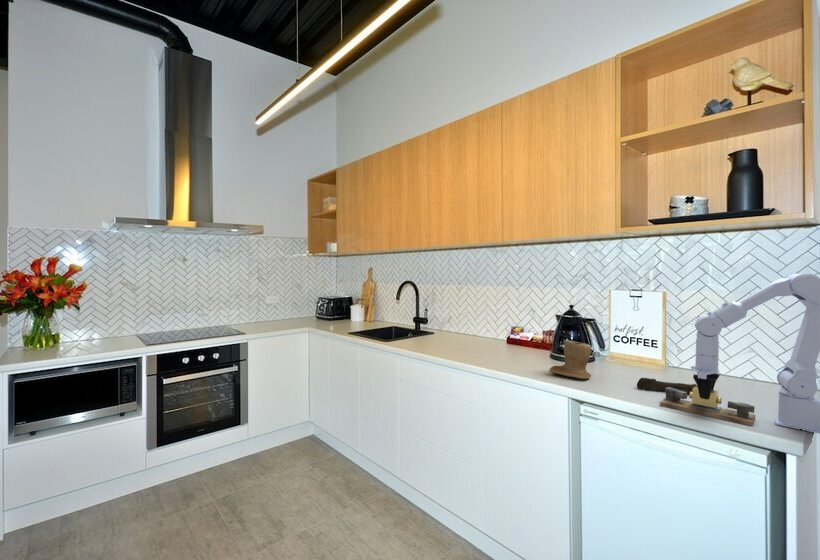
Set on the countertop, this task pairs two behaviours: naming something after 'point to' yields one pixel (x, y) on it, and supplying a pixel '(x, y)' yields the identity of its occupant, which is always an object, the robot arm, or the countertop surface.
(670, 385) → the hand tool
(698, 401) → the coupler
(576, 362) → the brown flared stand
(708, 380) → the robot arm
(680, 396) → the shaft stand
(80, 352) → the countertop surface
